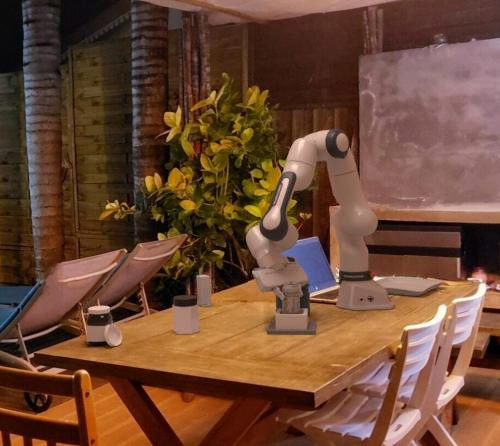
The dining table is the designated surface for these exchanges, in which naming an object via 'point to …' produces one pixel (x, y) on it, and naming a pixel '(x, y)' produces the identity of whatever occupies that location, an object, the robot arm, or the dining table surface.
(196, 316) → the jar
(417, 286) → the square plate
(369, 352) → the dining table surface
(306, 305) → the canister
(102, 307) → the spread jar
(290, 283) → the energy drink can
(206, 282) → the skincare box
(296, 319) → the sleeve mount
